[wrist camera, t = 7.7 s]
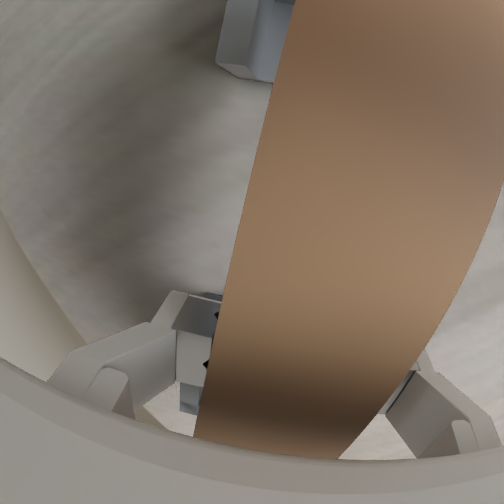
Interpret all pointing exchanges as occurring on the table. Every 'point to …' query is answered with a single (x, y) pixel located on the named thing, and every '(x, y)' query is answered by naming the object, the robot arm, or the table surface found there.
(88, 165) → the table surface
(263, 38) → the endcap
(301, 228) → the slat
